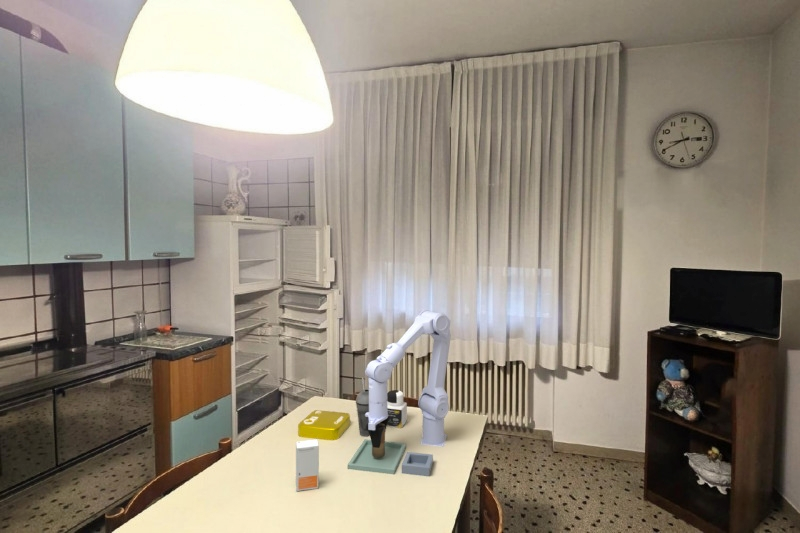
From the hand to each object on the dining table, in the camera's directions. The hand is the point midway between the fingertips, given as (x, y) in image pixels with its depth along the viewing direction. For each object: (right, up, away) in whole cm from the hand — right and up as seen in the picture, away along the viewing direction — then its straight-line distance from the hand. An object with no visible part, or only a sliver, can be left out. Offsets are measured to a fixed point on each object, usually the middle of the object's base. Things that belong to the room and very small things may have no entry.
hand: (378, 443), depth 129 cm
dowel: (0, -3, 0) cm, 3 cm away
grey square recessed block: (+12, -5, -6) cm, 14 cm away
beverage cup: (-5, -5, +18) cm, 19 cm away
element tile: (-21, -5, +22) cm, 30 cm away
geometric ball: (-7, -4, +35) cm, 36 cm away
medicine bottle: (+5, -4, +27) cm, 28 cm away
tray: (0, -5, 0) cm, 5 cm away
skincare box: (-19, -6, -15) cm, 24 cm away
